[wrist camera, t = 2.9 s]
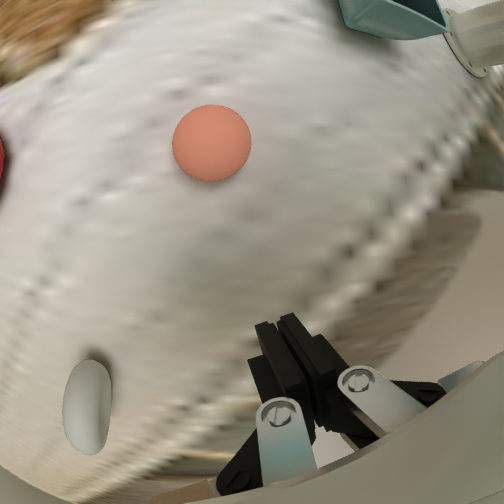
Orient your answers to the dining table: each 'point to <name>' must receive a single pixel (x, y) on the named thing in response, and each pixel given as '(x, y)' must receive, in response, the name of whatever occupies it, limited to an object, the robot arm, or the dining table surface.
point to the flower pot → (395, 18)
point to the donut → (87, 407)
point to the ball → (211, 142)
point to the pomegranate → (1, 158)
